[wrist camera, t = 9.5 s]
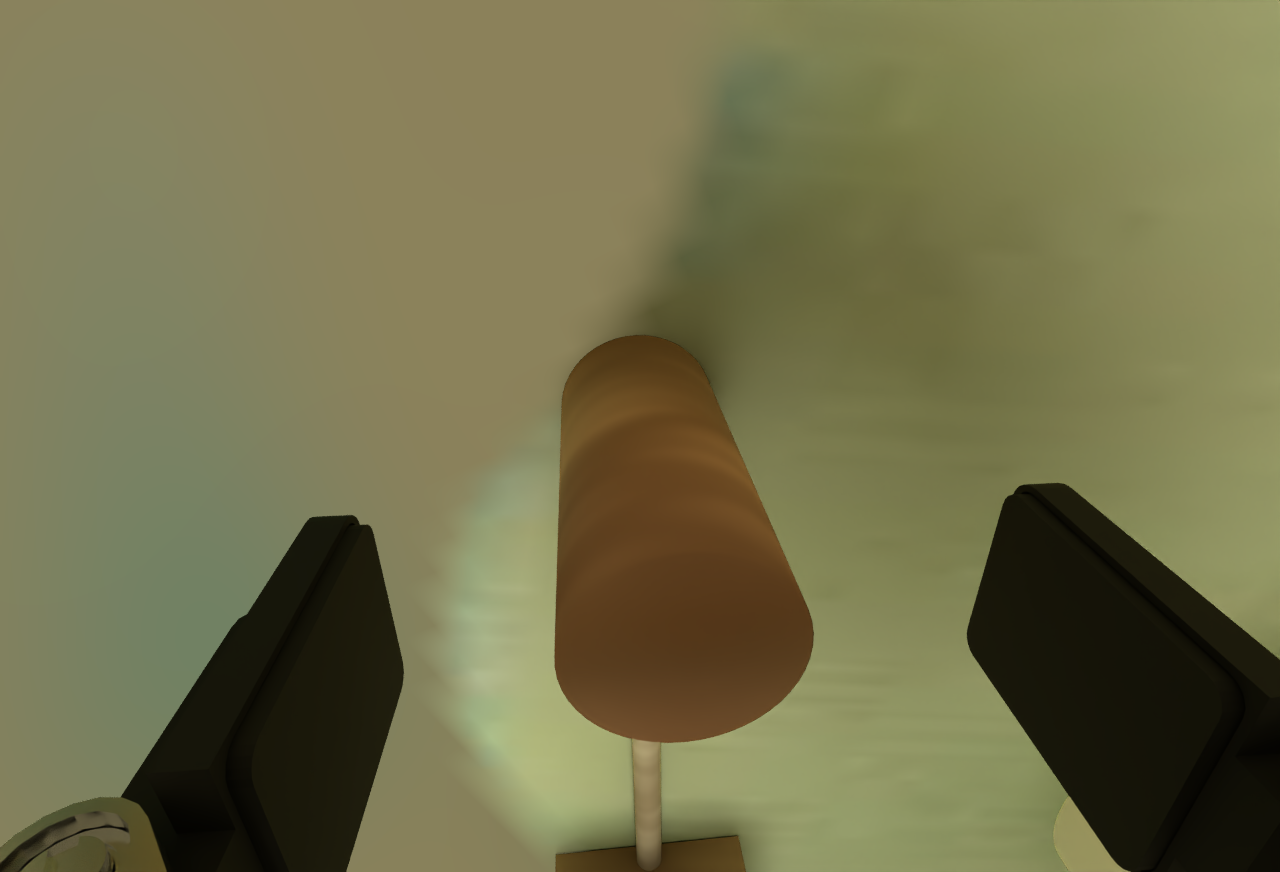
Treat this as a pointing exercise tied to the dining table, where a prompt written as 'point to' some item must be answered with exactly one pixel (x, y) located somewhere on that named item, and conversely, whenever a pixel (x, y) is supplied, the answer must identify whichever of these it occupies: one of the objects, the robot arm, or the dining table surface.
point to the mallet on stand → (665, 581)
